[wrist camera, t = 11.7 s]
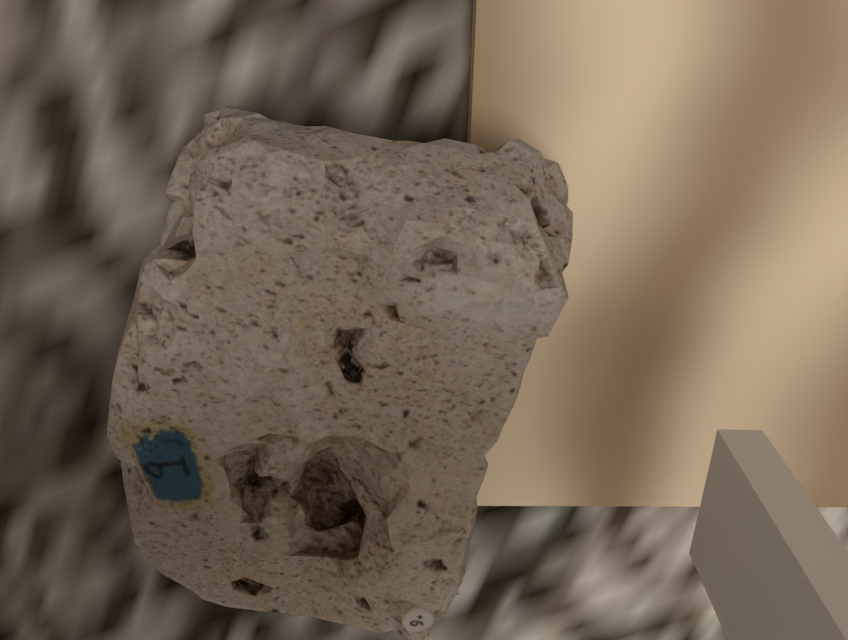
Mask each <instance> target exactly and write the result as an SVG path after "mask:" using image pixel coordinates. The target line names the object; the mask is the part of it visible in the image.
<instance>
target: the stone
mask: <svg viewBox="0 0 848 640" xmlns="http://www.w3.org/2000/svg"><path fill="white" fill-rule="evenodd" d="M165 194H166V195H167V196H168V197H169V199H170V200H171V201H172V203H171V206H170V208H169V211H168V214H167V216H166V219H165V222H164V226H163V229H162V232H161V236H160V239H159V241H158V244H157V246H156V247H155V248H154V249H153V250H152V251H151V253H150V254H149V255H147V256H145V257H144V258H143V262H142V265H141V268H140V273H139V277H138V282H137V287H136V292H135V296H134V300H133V303H132V306H131V309H130V312H129V315H128V318H127V322H126V325H125V329H124V332H123V336H122V339H121V343H120V346H119V350H118V353H117V359H116V364H115V370H114V375H113V380H112V388H111V397H110V407H109V417H108V429H107V440H108V442H109V444H110V446H111V448H112V450H113V452H114V454H115V455H116V457H117V459H119V460H120V462H121V469H122V475H123V482H124V489H125V494H126V499H127V505H128V510H129V519H130V528H131V531H132V535H133V539H134V542H135V545H136V548H137V550H138V552H139V553H140V554H141V556H142V557H143V558H144V559H145V561H146V562H148V563H149V564H150V565H151V566H153V567H154V568H155V569H156V570H158V571H159V572H160V573H162V574H163V575H165V576H167V577H169V578H171V579H172V580H174V581H176V582H178V583H180V584H181V585H183V586H184V587H186V588H187V589H190V590H192V591H194V592H195V593H196V594H197V595H198V596H199V597H200V598H201V599H203V600H207V601H210V602H213V603H216V604H220V605H223V606H226V607H234V608H241V609H249V610H257V611H265V612H277V613H288V614H295V615H301V616H308V617H314V618H318V619H322V620H327V621H331V622H335V623H340V624H345V625H350V626H356V627H360V628H363V629H366V630H369V631H372V632H375V633H378V634H380V633H384V632H388V631H392V630H394V631H396V632H397V633H399V634H400V635H401V636H403V637H405V638H407V639H408V640H424V639H425V638H426V637H427V636H428V635H429V632H430V629H431V627H432V626H433V624H434V623H435V622H436V621H437V620H439V619H440V618H441V617H442V616H443V615H444V614H445V613H446V611H447V609H448V607H449V605H450V603H451V601H452V599H453V598H454V596H455V595H458V594H459V591H458V588H459V587H460V585H461V583H462V577H463V575H464V573H465V567H466V559H467V551H468V549H469V545H470V540H471V536H472V532H473V529H474V525H475V519H476V513H477V507H478V505H477V498H476V497H477V495H478V492H479V490H480V487H481V484H482V482H483V479H484V477H485V473H486V470H487V467H488V463H487V460H486V458H485V454H486V453H487V452H488V451H489V450H490V449H491V448H492V447H493V446H494V445H495V444H496V442H497V441H498V438H499V436H500V433H501V431H502V428H503V426H504V424H505V422H506V420H507V418H508V416H509V414H510V412H511V410H512V408H513V406H514V403H515V401H516V398H517V395H518V392H519V389H520V387H521V382H522V377H523V373H524V371H525V368H526V366H527V364H528V362H529V360H530V358H531V355H532V352H533V349H534V346H535V343H536V340H537V338H543V337H547V336H549V334H550V332H551V330H552V328H553V326H554V324H555V322H556V321H557V319H558V317H559V315H560V313H561V311H562V309H563V307H564V305H565V303H566V301H567V299H568V298H569V296H568V293H567V289H566V285H565V282H564V278H563V274H562V272H563V270H564V269H565V268H566V267H567V266H568V264H569V258H570V251H571V244H572V234H573V212H572V211H571V210H570V209H569V208H568V207H567V203H568V185H567V182H566V180H565V177H564V175H563V172H562V170H561V168H560V165H559V163H557V162H555V161H552V160H549V159H546V158H544V157H543V156H542V154H541V152H540V151H539V150H537V149H535V148H534V147H532V146H530V145H528V144H527V143H525V142H523V141H521V140H520V139H517V140H509V141H508V142H506V143H505V144H503V145H502V146H500V147H499V148H497V149H495V150H494V151H492V152H488V151H486V150H484V149H483V148H481V147H479V146H477V145H475V144H470V143H465V142H460V141H455V140H450V139H445V138H444V139H440V140H436V141H432V142H427V143H420V142H414V141H392V140H387V139H382V138H377V137H372V136H366V135H361V134H356V133H352V132H348V131H344V130H340V129H336V128H332V127H328V126H307V127H306V126H301V125H296V124H291V123H286V122H282V121H277V120H272V119H268V118H266V117H265V116H263V115H261V114H259V113H255V112H250V111H245V110H242V109H239V108H235V107H230V106H227V107H224V108H221V109H218V110H215V111H213V112H210V113H207V114H204V129H203V130H202V131H201V132H200V133H199V134H198V135H197V136H196V137H195V138H194V139H193V140H191V141H190V142H189V143H188V144H186V145H185V146H184V147H183V148H182V150H181V152H180V154H179V157H178V159H177V162H176V164H175V167H174V169H173V172H172V175H171V177H170V180H169V182H168V185H167V187H166V190H165Z"/></svg>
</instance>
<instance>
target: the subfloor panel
mask: <svg viewBox="0 0 848 640" xmlns="http://www.w3.org/2000/svg"><path fill="white" fill-rule="evenodd" d="M517 139H520V140H521V141H523V142H525V143H527V144H528V145H530V146H532V147H534V148H535V149H537V150H539V151H540V152H541V154H542V156H543V157H544V158H546V159H549V160H552V161H555V162H557V163H559V165H560V168H561V170H562V172H563V175H564V177H565V180H566V182H567V185H568V203H567V207H568V208H569V209H570V210H571V211H572V212H573V234H572V244H571V251H570V258H569V264H568V266H567V267H566V268H565V269H564V270H563V272H562V274H563V278H564V282H565V285H566V289H567V293H568V296H569V298H568V299H567V301H566V303H565V305H564V307H563V309H562V311H561V313H560V315H559V317H558V319H557V321H556V322H555V324H554V326H553V328H552V330H551V332H550V334H549V336H547V337H543V338H537V340H536V343H535V346H534V349H533V352H532V355H531V358H530V360H529V362H528V364H527V366H526V368H525V371H524V373H523V377H522V382H521V387H520V389H519V392H518V395H517V398H516V401H515V403H514V406H513V408H512V410H511V412H510V414H509V416H508V418H507V420H506V422H505V424H504V426H503V428H502V431H501V433H500V436H499V438H498V441H497V442H496V444H495V445H494V446H493V447H492V448H491V449H490V450H489V451H488V452H487V453H486V454H485V458H486V460H487V463H488V467H487V470H486V473H485V477H484V479H483V482H482V484H481V487H480V490H479V492H478V495H477V497H476V498H477V505H478V506H681V507H700V505H701V500H702V496H703V491H704V487H705V482H706V478H707V473H708V469H709V465H710V460H711V456H712V451H713V447H714V442H715V438H716V433H717V429H726V430H762V431H763V432H764V433H765V435H766V436H767V438H768V439H769V440H770V442H771V443H772V445H773V446H774V448H775V449H776V450H777V452H778V453H779V455H780V456H781V458H782V459H783V460H784V462H785V463H786V465H787V466H788V468H789V469H790V470H791V472H792V473H793V475H794V476H795V477H796V479H797V480H798V482H799V483H800V485H801V486H802V487H803V489H804V490H805V492H806V493H807V495H808V496H809V497H810V499H811V500H812V502H813V503H814V505H815V506H816V507H848V0H473V23H472V46H471V69H470V92H469V115H468V138H467V143H470V144H475V145H477V146H479V147H481V148H483V149H484V150H486V151H488V152H492V151H494V150H495V149H497V148H499V147H500V146H502V145H503V144H505V143H506V142H508V141H509V140H517Z"/></svg>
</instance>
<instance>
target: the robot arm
mask: <svg viewBox="0 0 848 640" xmlns="http://www.w3.org/2000/svg"><path fill="white" fill-rule="evenodd" d="M690 555H691V557H692V560H693V562H694V564H695V567H696V569H697V571H698V573H699V576H700V578H701V580H702V582H703V585H704V587H705V589H706V592H707V594H708V596H709V598H710V601H711V603H712V605H713V607H714V610H715V612H716V614H717V617H718V619H719V621H720V623H721V626H722V628H723V630H724V633H725V635H726V637H727V639H728V640H848V552H847V550H846V549H845V547H844V546H843V544H842V543H841V542H840V540H839V539H838V537H837V536H836V534H835V533H834V532H833V530H832V529H831V527H830V526H829V524H828V523H827V522H826V520H825V519H824V517H823V516H822V515H821V513H820V512H819V510H818V509H817V507H816V506H815V505H814V503H813V502H812V500H811V499H810V497H809V496H808V495H807V493H806V492H805V490H804V489H803V487H802V486H801V485H800V483H799V482H798V480H797V479H796V477H795V476H794V475H793V473H792V472H791V470H790V469H789V468H788V466H787V465H786V463H785V462H784V460H783V459H782V458H781V456H780V455H779V453H778V452H777V450H776V449H775V448H774V446H773V445H772V443H771V442H770V440H769V439H768V438H767V436H766V435H765V433H764V432H763V431H762V430H726V429H717V433H716V438H715V442H714V447H713V451H712V456H711V460H710V465H709V469H708V473H707V478H706V482H705V487H704V491H703V496H702V500H701V505H700V509H699V513H698V518H697V522H696V527H695V531H694V536H693V540H692V544H691V549H690Z"/></svg>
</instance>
